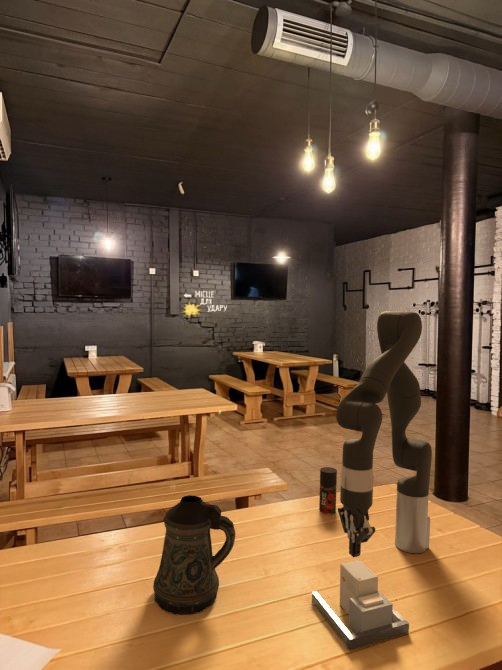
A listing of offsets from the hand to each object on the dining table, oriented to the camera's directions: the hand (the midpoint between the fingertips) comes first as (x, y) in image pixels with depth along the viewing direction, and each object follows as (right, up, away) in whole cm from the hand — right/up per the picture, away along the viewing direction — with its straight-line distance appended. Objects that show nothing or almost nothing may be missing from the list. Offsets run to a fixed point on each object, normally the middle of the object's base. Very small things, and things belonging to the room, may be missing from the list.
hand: (354, 555), depth 110 cm
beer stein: (-40, -13, +7) cm, 43 cm away
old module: (+2, -15, -6) cm, 16 cm away
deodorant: (+3, -11, +56) cm, 57 cm away
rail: (0, -14, 0) cm, 14 cm away
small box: (+1, -14, +1) cm, 14 cm away
